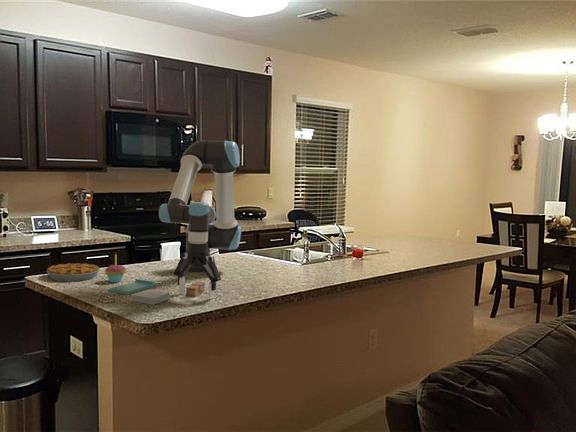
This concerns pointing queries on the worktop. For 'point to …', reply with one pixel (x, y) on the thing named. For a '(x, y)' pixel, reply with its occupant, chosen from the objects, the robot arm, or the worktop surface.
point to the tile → (150, 297)
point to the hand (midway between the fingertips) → (196, 296)
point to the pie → (72, 272)
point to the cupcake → (115, 272)
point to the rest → (133, 286)
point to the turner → (191, 294)
